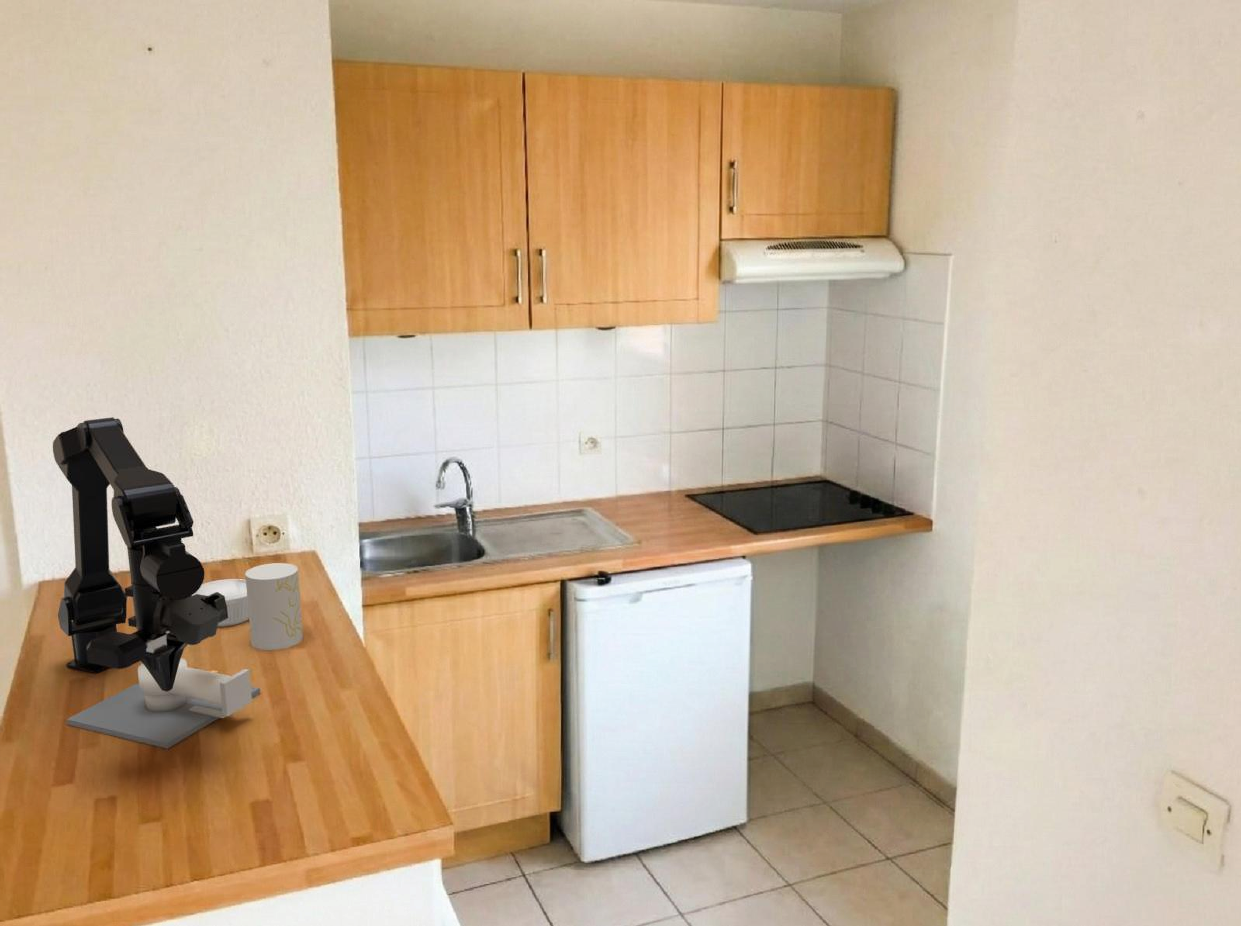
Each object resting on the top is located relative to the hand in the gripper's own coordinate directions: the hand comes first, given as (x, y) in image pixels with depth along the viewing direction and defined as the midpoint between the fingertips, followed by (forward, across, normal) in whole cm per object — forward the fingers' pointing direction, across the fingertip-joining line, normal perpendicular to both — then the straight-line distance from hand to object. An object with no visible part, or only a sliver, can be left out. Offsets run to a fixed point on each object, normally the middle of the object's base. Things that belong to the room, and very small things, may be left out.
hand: (167, 690), depth 142 cm
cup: (+8, +33, +10) cm, 36 cm away
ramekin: (+8, +38, +25) cm, 47 cm away
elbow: (+5, +7, +3) cm, 10 cm away
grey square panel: (+8, +8, +7) cm, 14 cm away
